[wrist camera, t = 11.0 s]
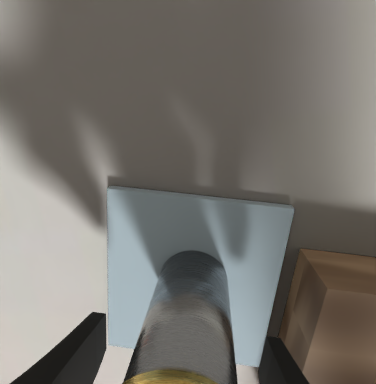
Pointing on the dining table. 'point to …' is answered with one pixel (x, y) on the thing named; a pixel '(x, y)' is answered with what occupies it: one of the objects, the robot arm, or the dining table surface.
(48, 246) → the dining table surface
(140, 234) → the rubber mat
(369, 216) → the dining table surface
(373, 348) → the block
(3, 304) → the dining table surface
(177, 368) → the steel key peg
